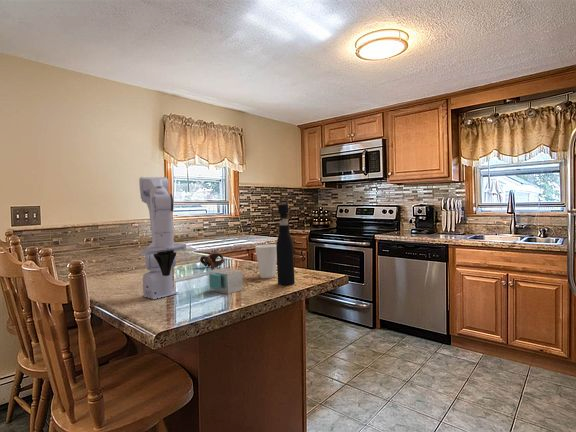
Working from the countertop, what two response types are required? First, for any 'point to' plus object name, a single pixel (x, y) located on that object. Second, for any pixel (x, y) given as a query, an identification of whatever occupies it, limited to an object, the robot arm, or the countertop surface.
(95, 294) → the countertop surface
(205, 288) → the countertop surface
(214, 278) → the shaft
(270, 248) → the foam cup
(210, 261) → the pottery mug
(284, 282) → the wine bottle
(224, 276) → the block
